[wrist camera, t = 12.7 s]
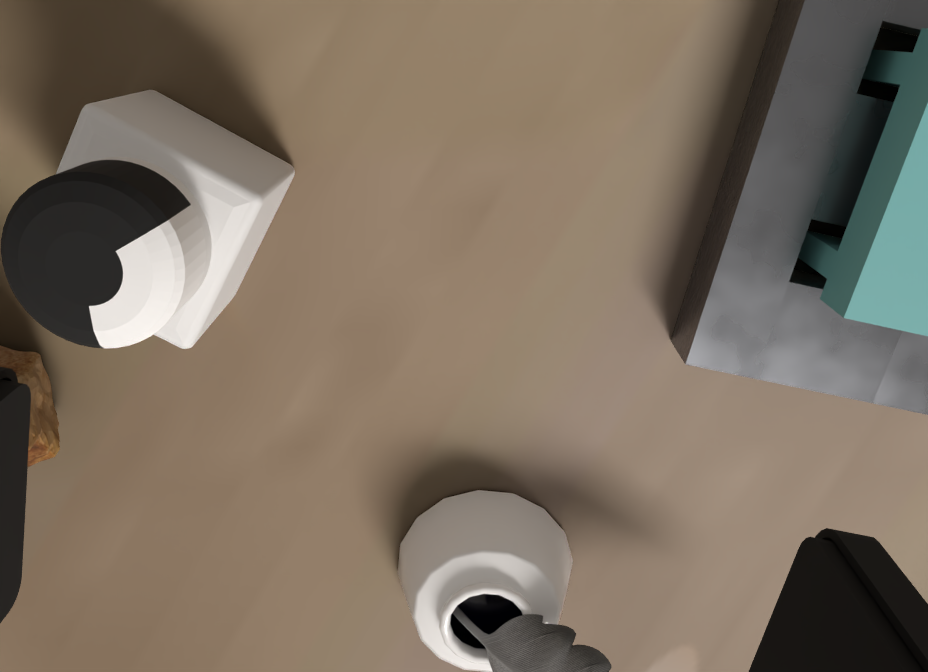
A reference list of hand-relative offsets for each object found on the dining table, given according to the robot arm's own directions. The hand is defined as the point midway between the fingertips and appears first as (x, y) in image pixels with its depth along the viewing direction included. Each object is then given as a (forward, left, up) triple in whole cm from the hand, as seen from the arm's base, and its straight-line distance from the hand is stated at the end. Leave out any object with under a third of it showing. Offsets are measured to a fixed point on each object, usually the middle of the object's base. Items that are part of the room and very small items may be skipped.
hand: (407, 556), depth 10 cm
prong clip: (-4, +18, -30) cm, 36 cm away
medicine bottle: (+4, -11, -31) cm, 33 cm away
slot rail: (-4, +18, -30) cm, 35 cm away
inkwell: (+21, +11, -31) cm, 38 cm away
